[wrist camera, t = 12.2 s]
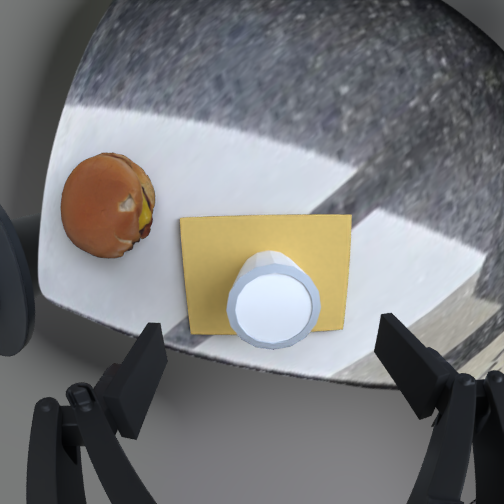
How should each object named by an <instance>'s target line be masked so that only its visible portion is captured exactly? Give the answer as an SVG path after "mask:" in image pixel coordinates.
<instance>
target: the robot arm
mask: <svg viewBox="0 0 504 504" xmlns="http://www.w3.org/2000/svg"><path fill="white" fill-rule="evenodd" d="M374 352H375V354H376V355H377V357H378V358H379V360H380V361H381V363H382V364H383V365H384V367H385V368H386V370H387V371H388V373H389V374H390V376H391V377H392V379H393V380H394V382H395V383H396V385H397V386H398V388H399V389H400V391H401V392H402V394H403V395H404V397H405V398H406V400H407V401H408V403H409V404H410V406H411V408H412V409H413V411H414V412H415V414H416V415H417V417H418V418H419V420H421V419H423V418H427V417H429V416H431V415H432V414H433V412H434V409H435V407H436V408H437V409H438V411H439V413H438V415H437V417H436V419H435V420H434V422H433V424H432V427H433V426H434V428H433V432H432V436H431V439H430V443H429V446H428V449H427V453H426V455H425V458H424V461H423V464H422V467H421V470H420V472H419V475H418V478H417V480H416V483H415V485H414V488H413V490H412V493H411V495H410V497H409V500H408V501H407V504H464V502H462V501H460V497H461V493H462V490H463V486H464V482H465V477H466V473H467V468H468V463H469V458H470V452H471V445H472V443H473V453H474V463H475V480H476V504H504V374H503V373H502V372H499V371H495V370H493V371H490V372H488V374H487V376H486V378H485V379H482V380H475V378H474V377H473V376H471V375H469V374H466V373H460V374H459V373H458V372H457V371H456V370H455V369H454V368H453V367H452V366H451V365H450V364H449V363H448V362H447V361H446V360H445V359H444V358H443V357H442V356H441V355H440V354H439V353H438V352H437V351H436V350H434V349H432V348H430V347H428V348H426V347H425V346H424V345H423V344H422V343H421V342H420V341H419V340H418V339H417V338H416V337H415V336H414V335H413V334H412V333H411V332H410V331H409V330H408V329H407V328H406V327H405V326H404V325H403V324H402V323H401V322H400V321H399V320H398V319H397V318H396V317H395V316H394V315H393V314H392V313H387V314H381V318H380V324H379V329H378V334H377V339H376V344H375V349H374ZM167 362H168V360H167V356H166V351H165V346H164V340H163V335H162V330H161V324H160V323H148V324H147V325H146V327H145V328H144V330H143V331H142V333H141V334H140V336H139V337H138V339H137V340H136V342H135V344H134V345H133V347H132V348H131V350H130V351H129V353H128V354H127V356H126V358H125V359H124V361H123V362H122V364H115V363H114V364H112V365H111V366H110V367H109V368H107V369H106V371H105V372H104V374H103V376H102V377H101V378H100V381H98V383H97V384H96V386H95V387H94V389H93V388H92V386H91V385H90V384H88V383H82V382H81V383H76V384H73V385H71V386H70V387H69V388H68V389H67V391H66V397H67V399H68V401H69V403H70V405H71V406H60V405H59V403H58V401H56V399H54V398H51V397H47V398H43V399H41V400H39V401H38V402H37V403H36V405H35V409H34V414H33V420H32V427H31V434H30V442H29V451H28V463H27V485H26V487H27V488H26V492H27V493H26V500H27V504H86V498H85V491H84V484H83V475H82V465H81V452H80V446H85V447H86V449H87V452H88V454H89V457H90V459H91V462H92V464H93V466H94V469H95V471H96V473H97V475H98V477H99V480H100V482H101V483H102V486H103V488H104V490H105V492H106V494H107V496H108V498H109V499H110V501H111V503H112V504H157V503H156V502H155V500H154V499H153V497H152V496H151V495H150V493H149V492H148V491H147V489H146V487H145V486H144V484H143V483H142V481H141V480H140V478H139V476H138V475H137V473H136V472H135V470H134V468H133V467H132V465H131V463H130V462H129V460H128V458H127V456H126V455H125V453H124V451H123V449H122V447H121V446H120V444H119V442H118V440H117V438H116V436H115V435H116V432H117V430H118V431H119V432H120V434H121V436H122V437H125V438H130V439H135V440H137V437H138V435H139V432H140V429H141V427H142V424H143V421H144V419H145V416H146V414H147V411H148V409H149V406H150V404H151V401H152V399H153V396H154V394H155V391H156V388H157V386H158V384H159V381H160V379H161V376H162V374H163V371H164V369H165V366H166V364H167Z"/></svg>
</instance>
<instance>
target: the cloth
mask: <svg viewBox="0 0 504 504" xmlns="http://www.w3.org/2000/svg"><path fill="white" fill-rule="evenodd" d="M351 217H352V215H324V214H313V215H243V216H211V217H187V218H180V230H181V244H182V257H183V268H184V279H185V289H186V298H187V307H188V315H189V323H190V331H191V334H206V335H237V333H236V332H235V331H234V330H233V328H232V327H231V326H230V322H229V318H228V315H227V311H226V309H227V303H228V297H229V293H230V290H231V288H232V286H233V284H234V282H235V280H236V278H237V276H238V274H239V272H240V270H241V268H242V266H243V265H244V263H245V262H246V260H247V259H248V258H250V257H251V256H253V255H254V254H256V253H258V252H263V251H268V250H270V251H276V252H281V253H282V254H284V255H285V256H287V257H289V258H290V259H291V260H292V261H293V262H294V263H295V264H297V265H298V266H299V267H300V268H301V269H302V270H303V271H304V272H305V273H306V274H307V275H308V276H309V277H310V278H311V280H312V281H313V283H314V284H315V286H316V288H317V289H318V291H319V296H320V303H321V310H320V313H319V317H318V320H317V323H316V325H315V326H314V328H313V329H312V330H311V331H310V332H315V331H329V330H340V329H343V324H344V316H345V307H346V297H347V287H348V275H349V261H350V243H351Z"/></svg>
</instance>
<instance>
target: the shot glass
mask: <svg viewBox="0 0 504 504" xmlns="http://www.w3.org/2000/svg"><path fill="white" fill-rule="evenodd" d="M320 310H321V303H320V296H319V291H318V289H317V288H316V286H315V284H314V283H313V281H312V280H311V278H310V277H309V276H308V275H307V274H306V273H305V272H304V271H303V270H302V269H301V268H300V267H299V266H298V265H297V264H295V263H294V262H293V261H292V260H291V259H290V258H289V257H287V256H285V255H284V254H282V253H281V252H276V251H270V250H268V251H263V252H258V253H256V254H254V255H253V256H251V257H250V258H248V259H247V260H246V262H245V263H244V265H243V266H242V268H241V270H240V272H239V274H238V276H237V278H236V280H235V282H234V284H233V286H232V288H231V290H230V293H229V297H228V303H227V309H226V311H227V315H228V318H229V322H230V326H231V327H232V328H233V330H234V331H235V332H236V333H237V335H238V336H239V337H240V338H241V339H242V340H244V341H246V342H247V343H249V344H251V345H253V346H255V347H258V348H265V349H272V350H274V349H279V348H284V347H289V346H292V345H294V344H295V343H297V342H299V341H300V340H302V339H304V338H305V337H306V336H307V335H308V334H309V333H310V331H311V330H312V329H313V328H314V326H315V325H316V323H317V320H318V317H319V313H320Z"/></svg>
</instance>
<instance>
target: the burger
mask: <svg viewBox="0 0 504 504" xmlns="http://www.w3.org/2000/svg"><path fill="white" fill-rule="evenodd" d="M154 204H155V193H154V188H153V186H152V184H151V181H150V179H149V177H148V175H146V174H145V172H144V170H143V169H142V168H141V167H139V166H138V165H137V164H135V163H133V162H132V161H131V160H130V159H129V158H127V157H126V156H124V155H120V154H115V153H102V154H99V155H96V156H94V157H91V158H88V159H86V160H84V161H83V162H81V163H80V164H79V165H78V166H77V167H76V168H75V169H74V170H73V171H72V173H71V174H70V175H69V177H68V179H67V181H66V183H65V186H64V189H63V192H62V199H61V219H62V223H63V227H64V230H65V232H66V234H67V237H68V238H69V239H70V240H71V241H72V243H73V244H74V245H76V246H77V247H78V248H80V249H81V250H83V251H85V252H87V253H89V254H91V255H93V256H97V257H100V258H118V257H121V256H123V254H124V252H125V251H129V250H132V248H133V245H134V244H135V243H136V242H139V241H140V238H141V239H144V238H146V237H147V236H148V235H149V233H150V230H151V229H150V227H151V225H152V221H153V218H152V213H153V208H154Z"/></svg>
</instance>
